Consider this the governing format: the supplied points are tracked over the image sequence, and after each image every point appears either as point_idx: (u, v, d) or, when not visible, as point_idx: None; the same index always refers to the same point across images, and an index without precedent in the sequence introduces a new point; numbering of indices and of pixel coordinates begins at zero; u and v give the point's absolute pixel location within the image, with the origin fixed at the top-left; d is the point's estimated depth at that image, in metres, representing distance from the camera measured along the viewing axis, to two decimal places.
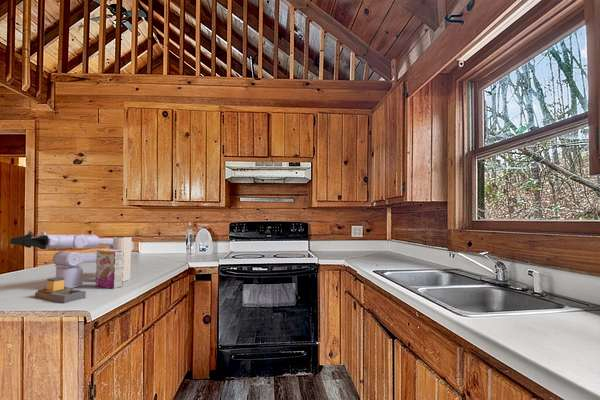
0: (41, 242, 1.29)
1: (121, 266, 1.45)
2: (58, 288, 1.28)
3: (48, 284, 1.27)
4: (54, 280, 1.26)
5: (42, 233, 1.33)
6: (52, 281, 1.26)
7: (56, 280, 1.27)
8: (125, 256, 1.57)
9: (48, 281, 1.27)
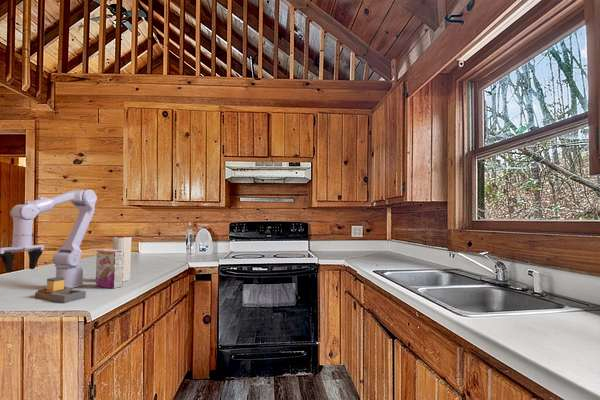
0: None
1: (121, 266, 1.45)
2: (58, 288, 1.28)
3: (48, 284, 1.27)
4: (54, 280, 1.26)
5: (27, 248, 1.25)
6: (52, 281, 1.26)
7: (56, 280, 1.27)
8: (125, 256, 1.57)
9: (48, 281, 1.27)
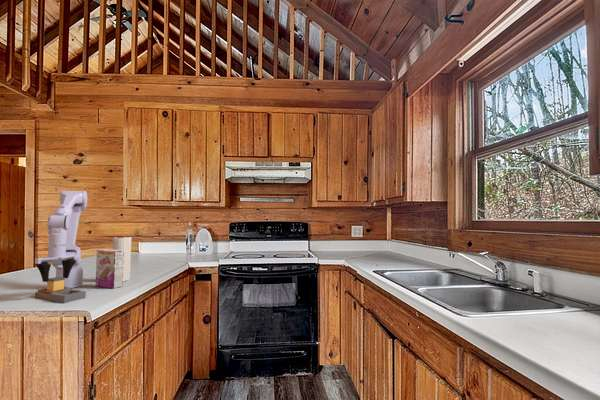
0: None
1: (121, 266, 1.45)
2: (58, 288, 1.28)
3: (48, 284, 1.27)
4: (54, 280, 1.26)
5: (62, 258, 1.28)
6: (52, 281, 1.26)
7: (56, 280, 1.27)
8: (125, 256, 1.57)
9: (48, 281, 1.27)
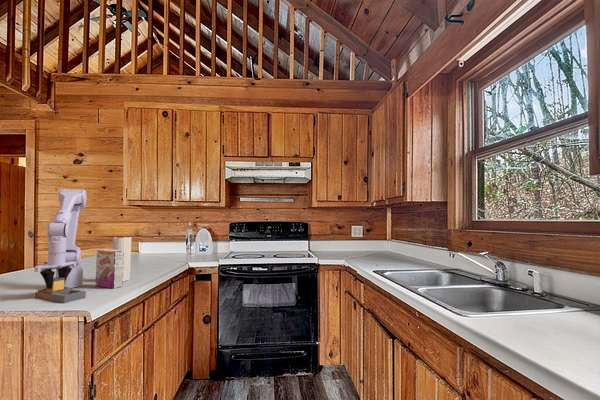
0: None
1: (121, 266, 1.45)
2: (58, 288, 1.28)
3: None
4: (54, 280, 1.26)
5: None
6: None
7: (56, 280, 1.27)
8: (125, 256, 1.57)
9: None
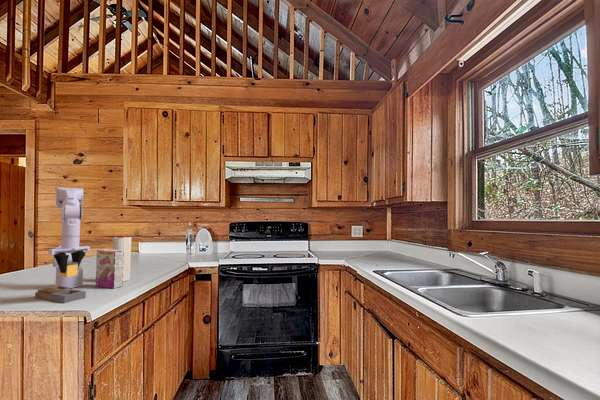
0: None
1: (121, 266, 1.45)
2: (72, 272, 1.24)
3: None
4: (68, 264, 1.23)
5: (76, 250, 1.24)
6: None
7: (70, 264, 1.23)
8: (125, 256, 1.57)
9: None
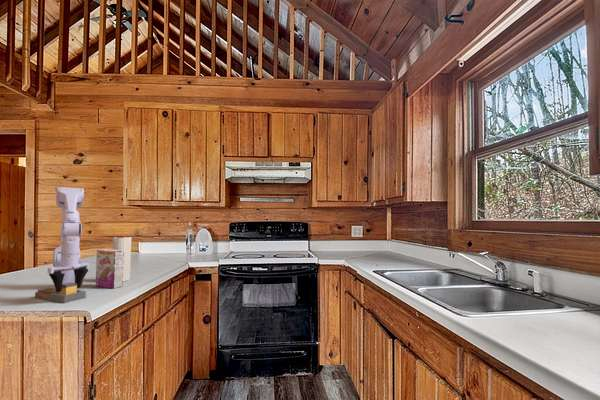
0: None
1: (121, 266, 1.45)
2: None
3: None
4: (66, 286, 1.22)
5: (75, 267, 1.24)
6: (64, 287, 1.22)
7: (68, 286, 1.23)
8: (125, 256, 1.57)
9: None
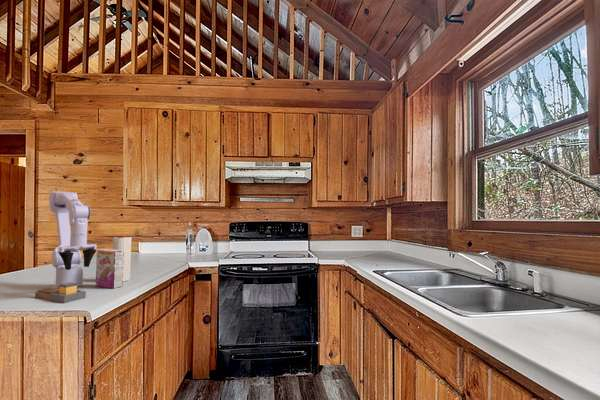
0: None
1: (121, 266, 1.45)
2: None
3: (60, 290, 1.23)
4: (66, 286, 1.22)
5: (84, 247, 1.32)
6: (64, 287, 1.22)
7: (68, 286, 1.23)
8: (125, 256, 1.57)
9: (60, 287, 1.23)
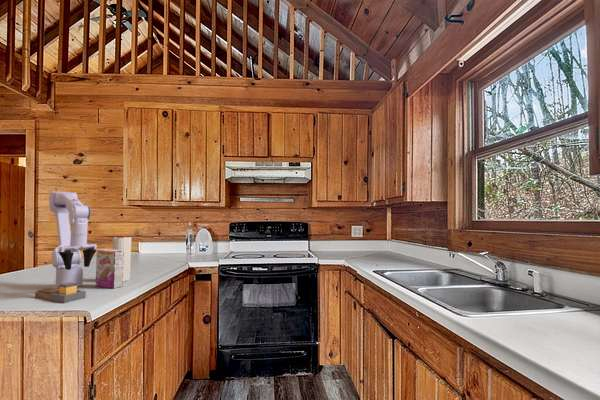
0: None
1: (121, 266, 1.45)
2: None
3: (60, 290, 1.23)
4: (66, 286, 1.22)
5: (84, 247, 1.32)
6: (64, 287, 1.22)
7: (68, 286, 1.23)
8: (125, 256, 1.57)
9: (60, 287, 1.23)
